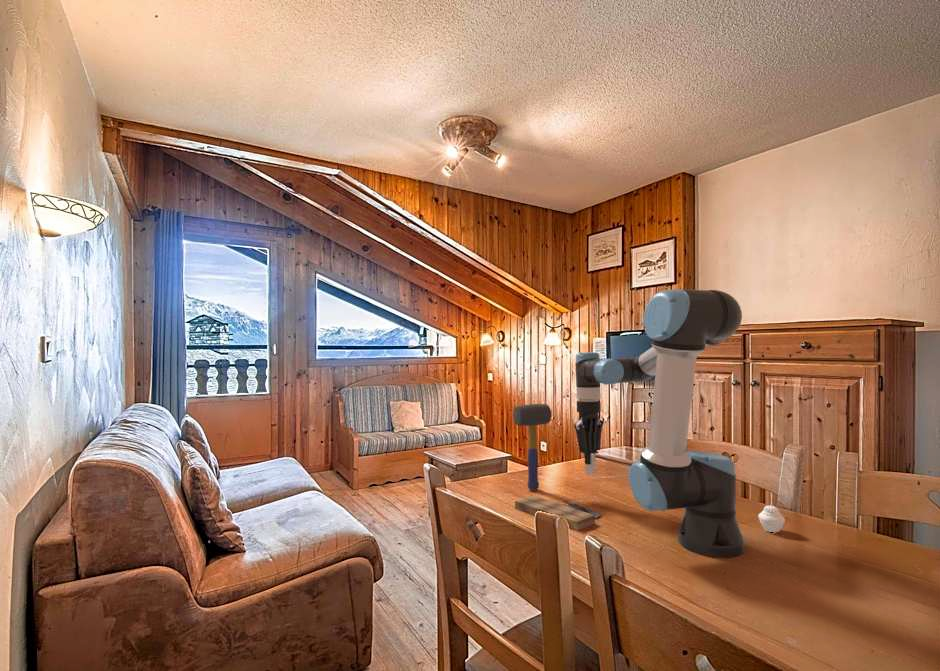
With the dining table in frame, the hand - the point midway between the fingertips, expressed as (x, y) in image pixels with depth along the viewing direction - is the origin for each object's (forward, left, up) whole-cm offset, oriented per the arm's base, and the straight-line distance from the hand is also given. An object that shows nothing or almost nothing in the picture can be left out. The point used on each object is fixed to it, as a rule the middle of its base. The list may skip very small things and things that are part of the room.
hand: (590, 473), depth 158 cm
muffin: (-46, -17, -10) cm, 50 cm away
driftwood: (+1, +9, -10) cm, 13 cm away
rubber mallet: (+22, +4, -10) cm, 24 cm away
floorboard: (+1, +18, -9) cm, 20 cm away
